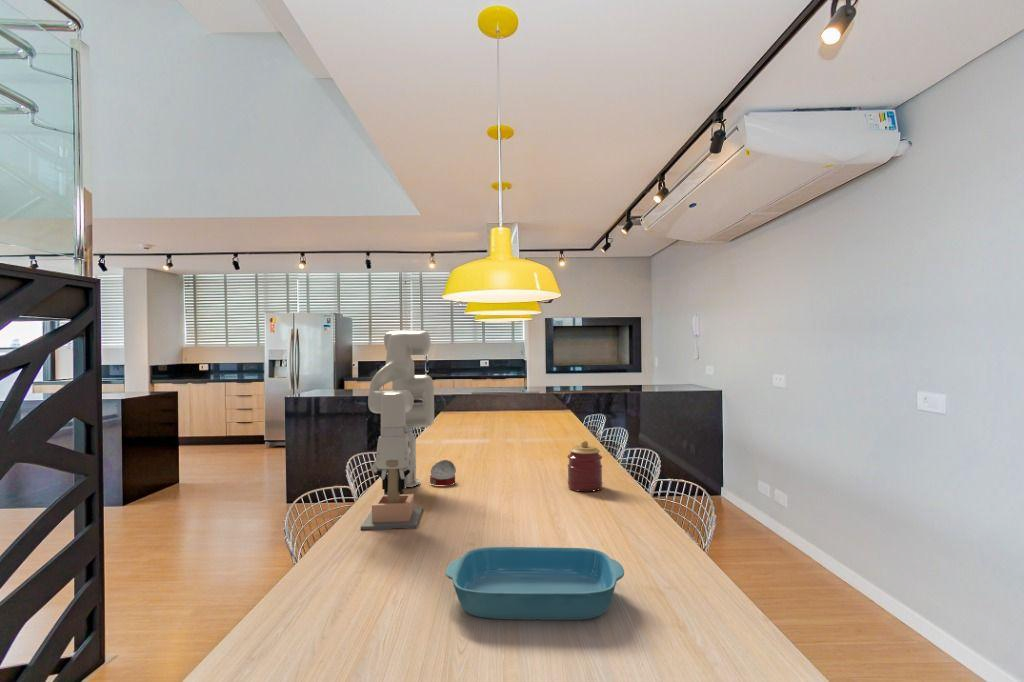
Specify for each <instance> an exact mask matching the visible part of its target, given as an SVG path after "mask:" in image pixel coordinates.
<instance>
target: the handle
mask: <svg viewBox="0 0 1024 682" xmlns="http://www.w3.org/2000/svg"><path fill="white" fill-rule="evenodd" d="M386 465H387V466H388V467H396V466H397V465H398V461H386ZM387 499H388V503H398V502H399V499H400V492H399V469H390V470H388V482H387Z"/></svg>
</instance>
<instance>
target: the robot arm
mask: <svg viewBox="0 0 1024 682" xmlns="http://www.w3.org/2000/svg"><path fill="white" fill-rule="evenodd" d="M383 342H384V346H385V350H386V357H385V358H386V359H385V365H384V366H382V368H380V369H379V370H378V371H377V372H376V373H375V374H374V375H373V377H372V378H371V381H370V383H369V388H368V389H369V390H368V396H367V397H368V398H367V406H368V409H369V411H370V412H372V413H373V414H380V436H378V439H377V444H376V445H377V446H376V454H375V456H376V458H375V461H374V462H373V463H372V465H371V467H370V471H372V472H374V473H375V474H376V475H377V476H378V477H379V478H380V479H381V481H382V482H381V483H382V485H381V486H382V487H381V489H382V490H383V494H384V493H386V492H387V482H388V477H387V470H390V469H399V472H400V479H399V492H402V490H403V489H404V490H405V489H406V488H405V487H412V488H414V487H413V486H416V485H418V484H419V485H420V484H421V480H420V479H419V478H417V440H416V436H415V434H414V433H413V432H412V431H411V429H413V428H414V429H415V428H428V427H431V426H433V424H434V421H435V387H434V385H435V384H434V381H433V378H432V377H431V376H430V375H427V374H415V361H414V359H413V358H412V356H425V355H427V354H428V353H429V351H430V348H431V335H430V334H429V332H428V331H427V330H392V331H388V332H386V333H385V334H384V336H383ZM390 382H392V383H391V384H392V385H391V386H392V387H391V388H392V389H381V388H382V387H384V385H386V384H389V383H390ZM415 400H421V401H422V402H415ZM386 461H398V465H397V466H396V467H388V466H387V465H386ZM419 485H418V486H419ZM416 487H417V486H416Z"/></svg>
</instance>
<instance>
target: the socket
mask: <svg viewBox="0 0 1024 682" xmlns="http://www.w3.org/2000/svg"><path fill="white" fill-rule="evenodd" d="M422 510H423V511H424V506H415V494H414V493H408V494H406V493H404V494H403V495H400V499H399V502H398V503H388V499H387V495H384V494H378V496H377V497H376V498H375V500H374V502H373V503H372V504H371V510H370V512H369V514H368V515H367V517H366V518H365V519H364V521H363V522H362V524H361V526H360V530H361V529H377V530H395V529H394V528H411V529H417V527H418V525H419V522H420V518H421V516H422V514H423V511H422ZM421 513H422V514H421ZM418 521H419V522H418ZM417 524H418V525H417ZM392 528H393V529H392Z"/></svg>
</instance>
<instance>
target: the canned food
mask: <svg viewBox="0 0 1024 682" xmlns="http://www.w3.org/2000/svg"><path fill="white" fill-rule="evenodd" d="M456 473H457V470H456V466H455V465H454V463H453V462H452V461H451V460H448V459H442V460H439V461H437V462H436V463H435V464H434V465H432V467H431V469H430V476H429V484H430V483H431V484H434V485H450V484H453V483H455V484H456Z"/></svg>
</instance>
